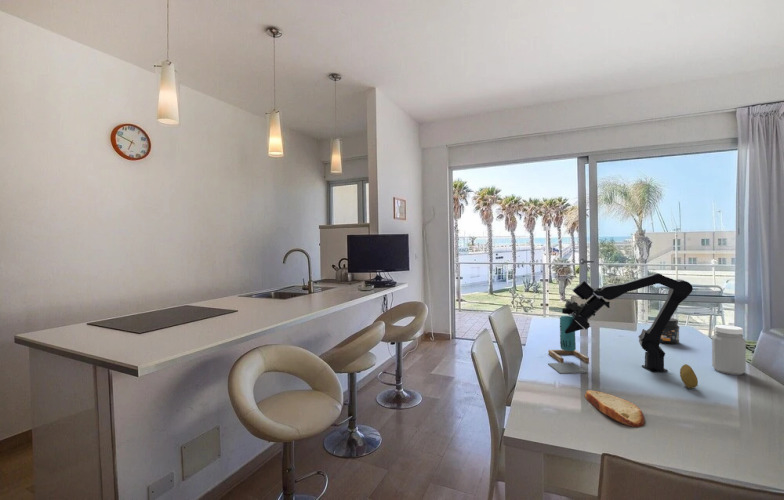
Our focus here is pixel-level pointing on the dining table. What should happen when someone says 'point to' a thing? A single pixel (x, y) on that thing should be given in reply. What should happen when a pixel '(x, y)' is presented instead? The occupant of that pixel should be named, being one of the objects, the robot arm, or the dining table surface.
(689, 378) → the potato
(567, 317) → the beverage bottle
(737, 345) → the jar
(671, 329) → the supplement container
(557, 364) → the rubber mat
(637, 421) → the bread slice
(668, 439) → the dining table surface
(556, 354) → the frame
